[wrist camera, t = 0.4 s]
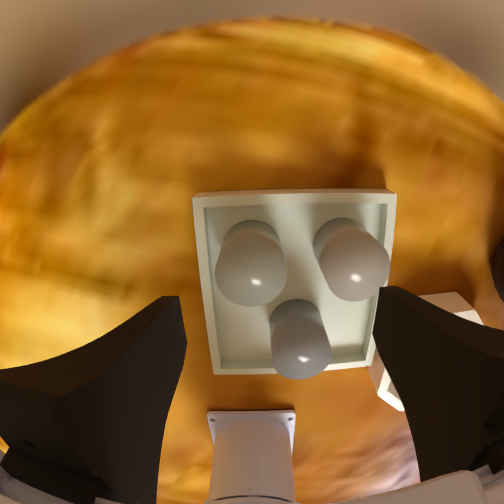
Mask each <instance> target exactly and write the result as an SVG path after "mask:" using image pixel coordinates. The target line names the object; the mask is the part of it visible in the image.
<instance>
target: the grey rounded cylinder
mask: <svg viewBox="0 0 504 504" xmlns="http://www.w3.org/2000/svg"><path fill="white" fill-rule="evenodd" d="M269 324H270V340H271V355H272V364H273V367H274V369H275V370H276V371H277V372H278V373H279V374H280V375H282V376H284V377H286V378H290V379H306V378H310V377H313V376H315V375H317V374H319V373H321V372H322V371H323V370H324V369H325V368H326V367H327V366H328V365H329V363H330V361H331V358H332V349H331V346H330V343H329V339H328V336H327V333H326V330H325V327H324V324H323V321H322V318H321V315H320V312H319V310H318V308H317V307H316V306H315V305H314V304H313V303H311V302H309V301H307V300H303V299H291V300H288V301H285V302H283V303H281V304H280V305H278V306H277V307H276V308H275V309H274V310H273V312H272V314H271V316H270V321H269Z"/></svg>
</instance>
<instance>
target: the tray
mask: <svg viewBox="0 0 504 504" xmlns="http://www.w3.org/2000/svg"><path fill="white" fill-rule="evenodd" d="M396 201H397V194H396V193H394V192H392V191H390V190H387V189H346V188H318V189H265V190H239V191H218V192H201V193H196V194H195V195H194V196H193V197H192V204H193V215H194V226H195V236H196V245H197V255H198V264H199V273H200V281H201V289H202V297H203V305H204V313H205V320H206V327H207V334H208V341H209V348H210V355H211V361H212V368H213V374H214V375H250V374H279V373H278V372H277V371H276V370H275V369H274V367H273V364H272V355H271V340H270V324H269V321H270V316H271V314H272V312H273V310H274V309H275V308H276V307H277V306H278V305H280V304H281V303H283V302H285V301H288V300H291V299H303V300H307V301H309V302H311V303H313V304H314V305H315V306H316V307H317V308H318V310H319V312H320V315H321V318H322V321H323V324H324V327H325V330H326V333H327V336H328V339H329V343H330V346H331V349H332V358H331V361H330V363H329V365H328V366H327V367H326V368H325V369H324V370H323V371H325V370H336V369H346V368H355V367H363V366H371V365H372V361H373V356H374V352H375V348H376V345H375V341H374V338H373V335H372V331H373V325H374V320H375V314H376V307H377V301H378V294H379V291H378V292H377V293H376V294H375V295H373V296H372V297H370V298H368V299H365V300H362V301H356V302H351V301H345V300H342V299H340V298H338V297H337V296H335V295H334V294H333V293H332V292H331V290H330V289H329V287H328V284H327V282H326V280H325V278H324V276H323V273H322V271H321V269H320V267H319V265H318V262H317V260H316V258H315V256H314V252H313V241H314V238H315V235H316V233H317V231H318V230H319V229H320V227H321V226H322V225H324V224H325V223H326V222H328V221H330V220H332V219H335V218H341V217H343V218H350V219H353V220H354V221H356V222H358V223H359V224H360V225H361V226H362V227H363V228H364V229H365V230H366V231H367V232H369V233H370V234H371V235H372V236H373V237H374V238H375V239H376V240H377V241H378V242H379V243H380V244H381V245H382V246H383V247H384V248H385V249H386V251H387V253H388V255H389V258H390V262H391V254H392V246H393V236H394V226H395V215H396ZM245 220H258V221H262V222H264V223H266V224H268V225H269V226H271V227H272V228H273V229H274V230H275V232H276V233H277V235H278V236H279V239H280V243H281V248H282V252H283V257H284V261H285V266H286V271H287V278H286V283H285V286H284V288H283V290H282V291H281V293H280V294H279V295H278V296H277V297H276V298H275V299H274V300H272V301H271V302H269V303H267V304H264V305H261V306H256V307H246V306H241V305H238V304H235V303H233V302H231V301H230V300H228V299H227V298H226V297H225V296H224V295H223V294H222V293H221V292H220V290H219V289H218V287H217V284H216V281H215V267H216V263H217V260H218V257H219V253H220V250H221V247H222V243H223V240H224V237H225V235H226V233H227V232H228V230H229V229H230V228H231V227H232V226H234V225H235V224H237V223H239V222H241V221H245ZM388 277H389V276H388ZM387 283H388V279H387V281H386V283H385V284H384V286H383V287H385V286H387Z"/></svg>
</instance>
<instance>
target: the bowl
mask: <svg viewBox="0 0 504 504" xmlns="http://www.w3.org/2000/svg"><path fill="white" fill-rule="evenodd" d="M418 297H420V298H422V299H424V300H426V301H428V302H430V303H432V304H434V305H436V306H438V307H440V308H442V309H444V310H446V311H449V312H451V313H453V314H455V315H457V316H460V317H462V318H465V319H467V320H470V321H473V322H476V323H478V324H481V325H483V323H482V321H481V319H480V317H479V315H478V314H477V312H476V310H475V309H474V308H473V307H472V306H471V305H470V304H469V303H468V302H467V301H465V300H464V299H463V298H462V297H461V296H460V295H459V294H458V293H456V292H447V293H439V294H429V295H420V296H418ZM368 372H369V375H370V377H371V380H372V382H373V385H374V387H375V390H376V392H377V395H378V396H379V397H381V398H382V399H383V400H385V401H386V402H387V403H389V404H390V405H392V406H393V407H394V408H396V409H397V410H399V411H405V410H404V407H403V404H402V402H401V400H400V397H399V395H398V393H397V391H396V389H395V387H394V385H393V383H392V381H391V379H390V377H389V375H388V373H387V371H386V368H385V366H384V364H383V362H382V360H381V358H380V356H379V353H378V351H377V348H375V352H374V356H373V361H372V365H371V366H368Z"/></svg>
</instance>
